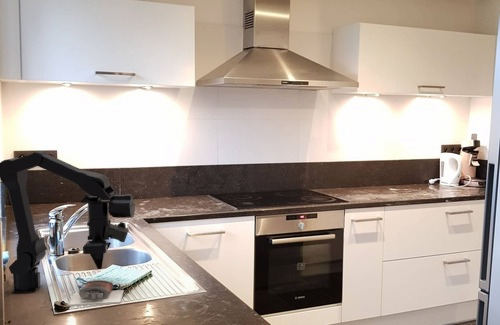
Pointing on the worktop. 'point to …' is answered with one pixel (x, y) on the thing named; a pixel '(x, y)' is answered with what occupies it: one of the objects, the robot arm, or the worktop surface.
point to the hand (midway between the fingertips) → (99, 268)
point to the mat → (112, 298)
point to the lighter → (96, 289)
